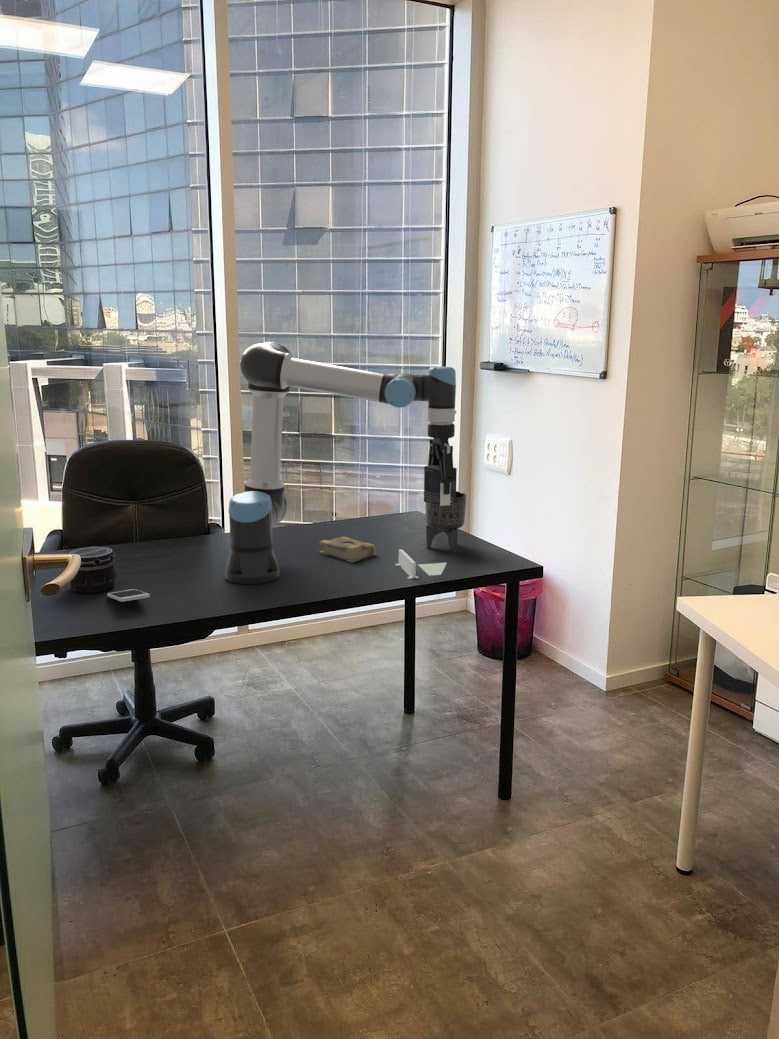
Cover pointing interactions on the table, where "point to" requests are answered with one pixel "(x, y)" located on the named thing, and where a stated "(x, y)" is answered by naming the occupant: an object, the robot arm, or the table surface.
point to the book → (347, 549)
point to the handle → (407, 564)
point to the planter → (445, 520)
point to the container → (94, 570)
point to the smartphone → (128, 595)
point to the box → (436, 485)
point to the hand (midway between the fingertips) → (439, 501)
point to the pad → (433, 568)
